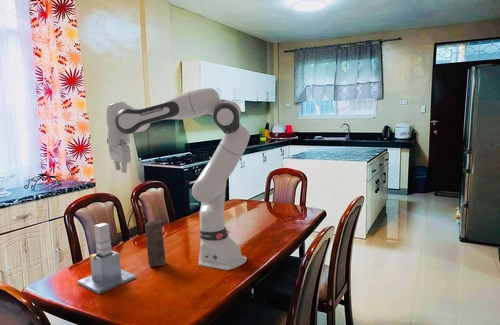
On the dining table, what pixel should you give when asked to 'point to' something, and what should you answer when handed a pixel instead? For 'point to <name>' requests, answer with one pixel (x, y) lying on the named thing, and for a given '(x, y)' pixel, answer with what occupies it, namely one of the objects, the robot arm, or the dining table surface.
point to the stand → (105, 273)
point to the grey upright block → (155, 243)
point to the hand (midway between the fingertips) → (121, 171)
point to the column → (103, 240)
